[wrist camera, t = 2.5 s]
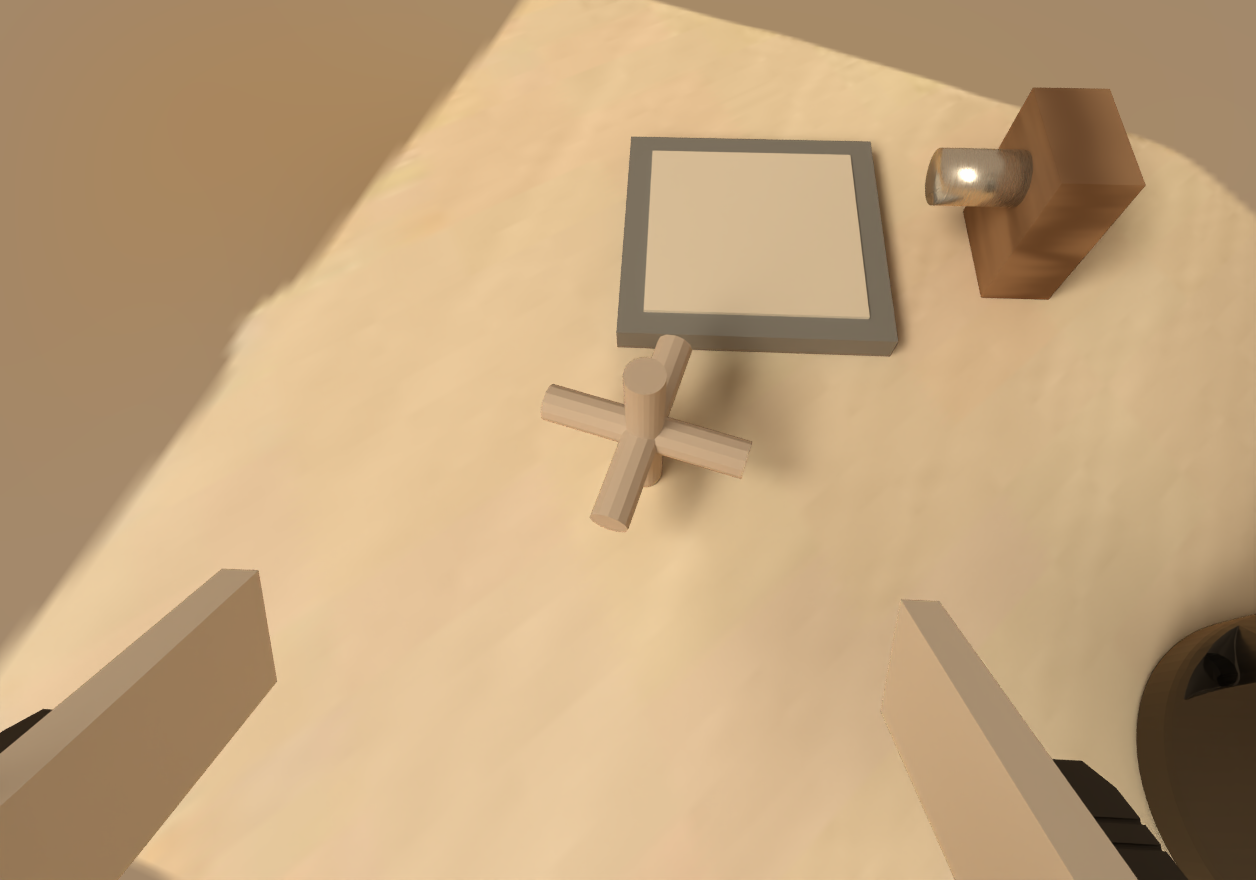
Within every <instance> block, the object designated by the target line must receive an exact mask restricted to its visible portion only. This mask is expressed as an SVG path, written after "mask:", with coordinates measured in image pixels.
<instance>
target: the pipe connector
mask: <svg viewBox="0 0 1256 880" xmlns="http://www.w3.org/2000/svg"><path fill="white" fill-rule="evenodd" d="M691 352H692V349H691V346H690V344H689V343H688V342H687V341H686V340H684V339H682V338H680V337H678V336H676V335H664V336H661V337H660V338H659V340H658V342H657V344H656V347H655V350H654V352H653V355H652V357H651V358H648V357H641V358H637V359H634V360H633V361H631V362H630V363H629V364H628V365H627V366H626V368H625V369H624V373H623V384H624V402H625V405H624V404H621V403H617V402H614V401H610V400H607V399H603V398H600V397H597V396H593V395H590V394H586V393H583V392H579V391H576V390H572V389H569V388H565V387H562V386H559V385H555V384H552V385H550V386H549V388H548V390H547V391H546V393H545V396H544V399H543V402H542V408H541V418H542V419H543V420H547V421H550V422H553V423H557V424H560V425H563V426H567V427H570V428H573V429H577V430H580V431H583V432H587V433H590V434H593V435H597V436H600V437H603V438H607V439H610V440H613V441H617V442H619V443H618V446H617V448H616V451H615V453H614V456H613V458H612V461H611V464H610V466H609V469H608V471H607V474H606V477H605V479H604V482H603V484H602V487H601V490H600V492H599V495H598V497H597V500H596V503H595V505H594V508H593V510H592V513H591V516H590V518H591V519H592V521H593V522H595V523H596V524H598V525H600V526H602V527H604V528H606V529H609V530H613V531H617V532H626V531H627V530H628V528H629V525H630V523H631V520H632V517H633V514H634V511H635V509H636V506H637V503H638V500H639V497H640V495H641V492H642V489H643V487H649V486H652V485H654V484H656V483H657V482H658V481H659V479H660V477H661V473H662V457H663V456H667V457H670V458H673V459H677V460H680V461H683V462H687V463H690V464H693V465H697V466H700V467H703V468H707V469H710V470H713V471H717V472H720V473H723V474H727V475H730V476H733V477H737V478H740V479H741V477H742V474H743V471H744V468H745V464H746V461H747V458H748V454H749V451H750V448H751V444H752V441H748V440H745V439H741V438H738V437H734V436H731V435H727V434H724V433H721V432H717V431H714V430H710V429H707V428H703V427H700V426H696V425H693V424H690V423H686V422H683V421H679V420H676V419H672V418H669V417H668V416H669V413H670V411H671V408H672V405H673V402H674V400H675V397H676V394H677V391H678V388H679V386H680V383H681V380H682V377H683V374H684V372H685V369H686V366H687V363H688V360H689V358H690V355H691Z"/></svg>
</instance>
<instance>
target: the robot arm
mask: <svg viewBox="0 0 1256 880" xmlns="http://www.w3.org/2000/svg"><path fill="white" fill-rule="evenodd" d="M276 682H277V678H276V672H275V666H274V660H273V654H272V648H271V642H270V636H269V630H268V624H267V618H266V612H265V606H264V600H263V594H262V588H261V582H260V577H259V571H258V570H240V569H221V570H220V571H219V572H217V573H216V574H215V575H214V576H213V577H211V578H210V579H209V580H208V581H207V582H206V583H204V584H203V585H202V586H201V587H200V588H198V589H197V590H196V591H195V592H194V593H192V594H191V595H190V596H189V597H188V598H186V599H185V600H184V601H183V602H182V603H180V604H179V605H178V606H177V607H176V608H174V609H173V610H172V611H171V612H170V613H168V614H167V615H166V616H165V617H164V618H162V619H161V620H160V621H159V622H158V623H156V624H155V625H154V626H153V627H152V628H150V629H149V630H148V631H147V632H146V633H144V634H143V635H142V636H141V637H140V638H138V639H137V640H136V641H135V642H134V643H132V644H131V645H130V646H129V647H128V648H126V649H125V650H124V651H123V652H122V653H120V654H119V655H118V656H117V657H116V658H114V659H113V660H112V661H111V662H110V663H108V664H107V665H106V666H105V667H104V668H102V669H101V670H100V671H99V672H98V673H96V674H95V675H94V676H93V677H92V678H90V679H89V680H88V681H87V682H86V683H84V684H83V685H82V686H81V687H80V688H78V689H77V690H76V691H75V692H74V693H72V694H71V695H70V696H69V697H68V698H66V699H65V700H64V701H63V702H62V703H60V704H59V705H58V706H57V707H56V708H54V709H53V710H50V709H42V710H41V711H39V712H37V713H35V714H33V715H31V716H30V717H28V718H26V719H24V720H22V721H20V722H19V723H17V724H15V725H13V726H11V727H9V728H8V729H6V730H4V731H2V732H1V733H0V880H118V879H119V878H120V877H121V876H122V875H123V873H124V872H125V871H126V869H127V868H128V867H129V866H130V865H131V863H132V862H133V861H134V860H135V858H136V857H137V856H138V855H139V853H140V852H141V851H142V850H143V848H144V847H145V846H146V845H147V843H148V842H149V841H150V840H151V838H152V837H153V836H154V835H155V833H156V832H157V831H158V830H159V828H160V827H161V826H162V825H163V823H164V822H165V821H166V820H167V818H168V817H169V816H170V815H171V813H172V812H173V811H174V810H175V808H176V807H177V806H178V805H179V803H180V802H181V801H182V799H183V798H184V797H185V796H186V794H187V793H188V792H189V791H190V789H191V788H192V787H193V786H194V784H195V783H196V782H197V781H198V779H199V778H200V777H201V776H202V774H203V773H204V772H205V771H206V769H207V768H208V767H209V766H210V764H211V763H212V762H213V761H214V759H215V758H216V757H217V756H218V754H219V753H220V752H221V751H222V749H223V748H224V747H225V746H226V744H227V743H228V742H229V741H230V739H231V738H232V737H233V736H234V734H235V733H236V732H237V731H238V729H239V728H240V727H241V726H242V724H243V723H244V722H245V721H246V719H247V718H248V717H249V716H250V714H251V713H252V712H253V711H254V709H255V708H256V707H257V706H258V704H259V703H260V702H261V701H262V699H263V698H264V697H265V696H266V694H267V693H268V692H269V691H270V689H271V688H272V687H273V686H274V684H275V683H276ZM881 714H882V716H883V718H884V721H885V723H886V725H887V727H888V730H889V732H890V734H891V736H892V739H893V741H894V743H895V746H896V748H897V750H898V752H899V755H900V757H901V759H902V761H903V764H904V766H905V768H906V770H907V773H908V775H909V777H910V779H911V782H912V784H913V786H914V789H915V791H916V793H917V795H918V798H919V800H920V802H921V804H922V807H923V809H924V811H925V813H926V816H927V818H928V820H929V822H930V825H931V827H932V829H933V832H934V834H935V836H936V838H937V841H938V843H939V845H940V847H941V850H942V852H943V854H944V856H945V859H946V861H947V863H948V866H949V868H950V870H951V872H952V875H953V877H954V879H955V880H1256V614H1254V615H1249V616H1245V617H1241V618H1237V619H1233V620H1229V621H1225V622H1222V623H1218V624H1214V625H1211V626H1208V627H1205V628H1203V629H1201V630H1198V631H1196V632H1194V633H1192V634H1191V635H1189V636H1187V637H1186V638H1184V639H1183V640H1181V641H1180V642H1178V643H1177V644H1176V645H1175V646H1174V647H1173V648H1172V649H1170V650H1169V652H1168V653H1167V654H1166V655H1165V656H1164V657H1163V658H1162V659H1161V661H1160V662H1159V663H1158V665H1157V666H1156V668H1155V669H1154V671H1153V673H1152V674H1151V676H1150V679H1149V681H1148V683H1147V685H1146V688H1145V690H1144V693H1143V696H1142V700H1141V704H1140V708H1139V714H1138V722H1137V755H1138V763H1139V770H1140V775H1141V780H1142V785H1143V788H1144V792H1145V796H1146V799H1147V802H1148V805H1149V808H1150V811H1151V814H1152V816H1153V819H1154V821H1155V823H1156V826H1157V828H1158V830H1159V833H1160V835H1161V837H1162V839H1163V841H1164V843H1165V845H1166V847H1167V849H1168V850H1169V852H1170V854H1171V856H1172V858H1173V859H1174V861H1175V862H1174V861H1173V860H1172V858H1171V857H1170V856H1169V855H1168V853H1167V852H1164V851H1162V849H1161V844H1160V843H1159V842H1158V841H1157V839H1156V838H1155V837H1154V836H1153V834H1152V833H1151V832H1150V830H1149V829H1148V828H1147V827H1146V825H1142V824H1141V822H1140V818H1139V816H1138V815H1137V814H1136V813H1135V811H1134V810H1133V809H1132V808H1131V806H1130V805H1129V804H1128V803H1127V801H1126V800H1125V799H1124V797H1123V796H1122V795H1121V794H1120V792H1119V791H1118V790H1117V789H1116V788H1115V787H1114V786H1113V785H1112V784H1110V783H1109V782H1108V781H1107V780H1105V779H1104V778H1103V777H1102V776H1100V775H1099V774H1098V773H1097V772H1095V771H1094V770H1093V769H1091V768H1090V767H1089V766H1088V765H1086V764H1085V763H1084V762H1083V761H1075V760H1056V759H1052V758H1051V757H1050V756H1049V754H1048V753H1047V751H1046V750H1045V749H1044V747H1043V746H1042V744H1041V743H1040V742H1039V740H1038V739H1037V737H1036V736H1035V735H1034V733H1033V732H1032V730H1031V729H1030V728H1029V726H1028V725H1027V723H1026V722H1025V721H1024V719H1023V718H1022V716H1021V715H1020V714H1019V712H1018V711H1017V709H1016V708H1015V707H1014V705H1013V704H1012V702H1011V701H1010V700H1009V698H1008V697H1007V695H1006V694H1005V693H1004V691H1003V690H1002V688H1001V687H1000V686H999V684H998V683H997V681H996V680H995V679H994V677H993V676H992V674H991V673H990V672H989V670H988V669H987V667H986V666H985V665H984V663H983V662H982V660H981V659H980V658H979V656H978V655H977V653H976V652H975V651H974V649H973V648H972V646H971V645H970V644H969V642H968V641H967V639H966V638H965V637H964V635H963V634H962V632H961V631H960V630H959V628H958V627H957V625H956V624H955V623H954V621H953V620H952V618H951V617H950V616H949V614H948V613H947V611H946V610H945V609H944V607H943V606H942V604H941V603H940V602H939V601H924V600H902V599H901V600H900V606H899V612H898V617H897V623H896V628H895V634H894V639H893V645H892V650H891V656H890V662H889V667H888V673H887V678H886V684H885V689H884V695H883V700H882V706H881ZM1176 864H1177V865H1176Z"/></svg>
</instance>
